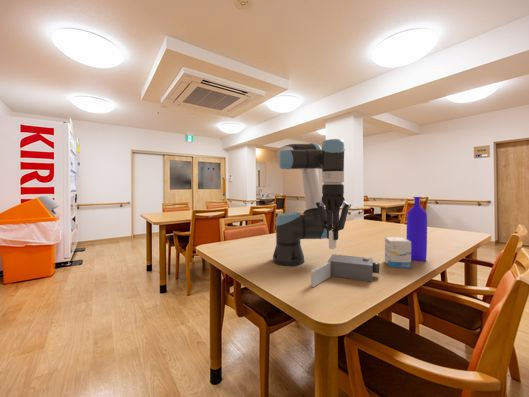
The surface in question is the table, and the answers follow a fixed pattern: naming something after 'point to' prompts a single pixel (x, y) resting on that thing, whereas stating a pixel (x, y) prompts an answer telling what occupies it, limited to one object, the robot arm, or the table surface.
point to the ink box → (398, 252)
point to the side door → (320, 274)
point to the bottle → (417, 231)
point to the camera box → (353, 267)
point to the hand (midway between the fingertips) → (332, 248)
